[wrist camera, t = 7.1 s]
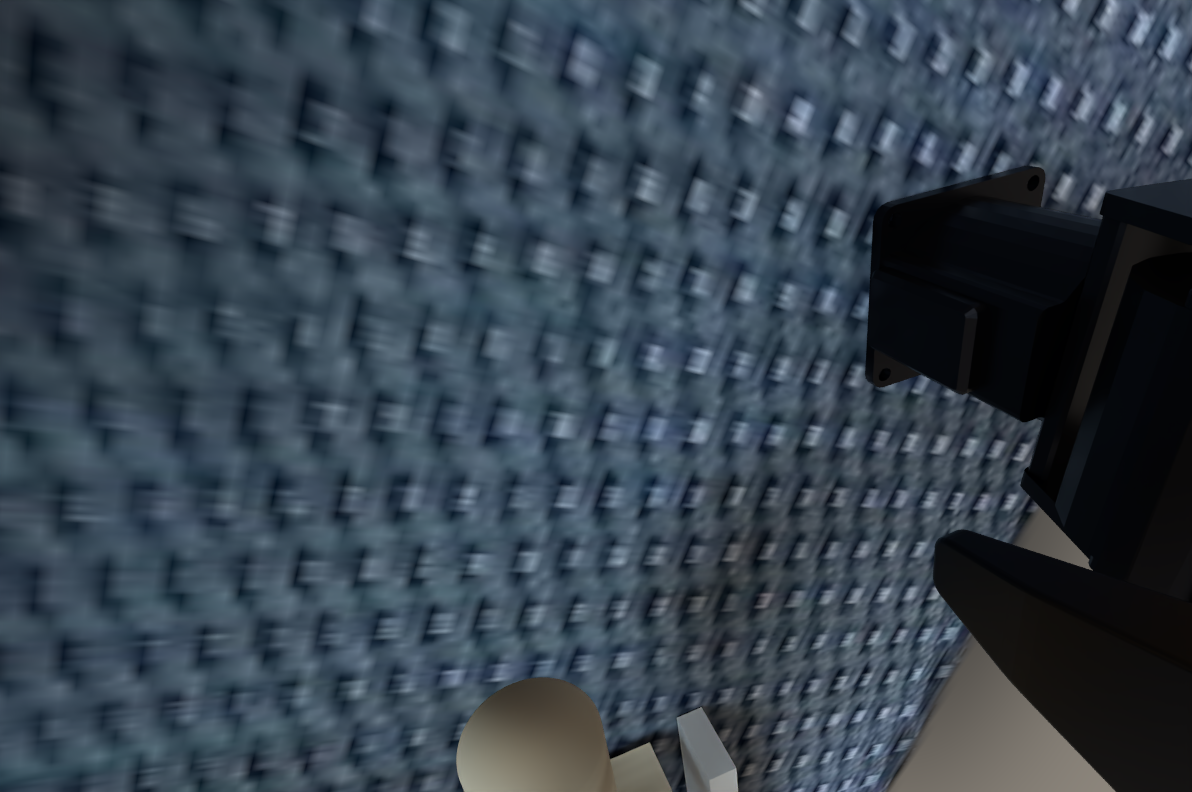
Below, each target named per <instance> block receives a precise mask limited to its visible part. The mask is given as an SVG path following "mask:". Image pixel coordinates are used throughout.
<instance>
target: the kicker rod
mask: <svg viewBox="0 0 1192 792" xmlns="http://www.w3.org/2000/svg"><path fill="white" fill-rule="evenodd" d="M456 763H457V772H458V776H459V780H460V782H461V784H462V787H463V789H464V792H673V791H672V789H671V787H670V785H669V783H668V781H667V778H666V776H665V774H664V772H663V770H662V768H661V766H660V763H659V761H658V759H657V757H656V755H655V753H654V751H653V748H652V746H651V744H650V742H649V743H647V744H644V745H642V746H640V747H638V748H635V749H633V750H631V751H628V752H626V753H624V754H622V755H619V756H617V757H615V758H612V759H610V757H609V752H608V748H607V744H606V739H605V735H604V730H603V726H602V722H601V718H600V715H599V712H598V710H597V708H596V706H595V704H594V703H593V701H592V700H591V699H590V698H589V696H588V695H587V694H586V693H585V692H583V691H582V690H581V689H580V688H578V687H576V686H575V685H573V684H571V683H568V682H566V681H563V680H559V679H555V678H531V679H526V680H522V681H519V682H516V683H513V684H511V685H508V686H506V687H504V688H502V689H501V690H499V691H497V692H496V693H494V694H493V695H492V696H490V697H489V698H488V699H487V700H486V701H484V702H483V703H482V704H481V705H480V706H479V707H478V709H477V710H476V711H475V712H474V713H473V715H472V716H471V718H470V719H469V721H468V722H467V724H466V726H465V728H464V730H463V732H462V735H461V737H460V741H459V744H458V750H457V762H456Z"/></svg>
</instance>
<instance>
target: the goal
mask: <svg viewBox="0 0 1192 792" xmlns="http://www.w3.org/2000/svg"><path fill="white" fill-rule="evenodd" d="M677 724H678V731H679V738H680V745H681V752H682V759H683V766H684V773H685V780H686V787H687V792H738V783H737V770H736V766H735V765H734V763H733V761H732V759H731V758H730V756H729V754H728V752H727V751H726V749H725V747H724V745H723V744H722V742H721V740H720V738H719V737H718V735H717V733H716V731H715V730H714V728H713V726H712V724H711V723H710V721H709V719H708V718H707V716H706V714H705V712H704V711H703V709H702V707H700V708H698V709H696V710H694V711H691V712H689V713H687V714H684V715H682V716H680V717H677Z"/></svg>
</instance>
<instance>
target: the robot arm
mask: <svg viewBox="0 0 1192 792" xmlns="http://www.w3.org/2000/svg"><path fill="white" fill-rule="evenodd" d="M1044 183H1045V172H1044V170H1043V169H1042V168H1040V167H1033V166H1023V167H1020V168H1016V169H1012V170H1008V171H1005V172H1001V173H997V174H993V175H989V176H986V177H982V178H978V179H974V180H971V181H967V182H963V183H959V184H955V185H952V186H948V187H944V188H940V189H937V190H933V191H929V192H925V193H921V194H918V195H914V196H910V197H906V198H903V199H899V200H895V201H891V202H887V203H885V204H883V205H882V206H881V207H880V208H879V209H878V210H877V212H876V214H875V216H874V220H873V235H872V255H871V274H870V293H869V312H868V332H867V351H866V370H865V375H866V379H867V381H868V382H870V383H871V384H873V385H875V386H877V387H885V386H888V385H891V384H894V383H897V382H900V381H903V380H906V379H909V378H912V377H915V376H918V375H921V374H922V375H924V376H926V377H927V378H929V379H931V380H933V381H935V382H937V383H939V384H941V385H943V386H944V387H946V388H948V389H950V390H952V391H954V392H956V393H958V394H961V395H963V394H966V393H967V394H969V395H971V396H973V397H975V398H977V399H979V400H981V401H983V402H985V403H986V404H988V405H990V406H992V407H994V408H996V409H998V410H1000V411H1002V412H1004V413H1006V414H1008V415H1009V416H1011V417H1013V418H1015V419H1017V420H1019V421H1021V422H1028V421H1031V420H1033V419H1036V418H1037V419H1039V420H1041V421H1043V422H1042V425H1041V428H1040V432H1039V435H1038V439H1037V442H1036V445H1035V449H1034V452H1033V455H1032V459H1031V462H1030V466H1029V467H1027V468H1026V469H1025V470H1024V474H1023V477H1022V481H1021V484H1020V486H1021V487H1022V488H1023V489H1024V490H1025V492H1026V493H1027V494H1028V495H1029V496H1030V497H1031V498H1032V499H1033V500H1034V501H1035V502H1036V503H1037V504H1038V505H1039V506H1040V508H1041V509H1042V510H1043V511H1044V512H1045V513H1046V514H1047V515H1048V516H1049V517H1050V518H1051V519H1052V520H1053V521H1054V522H1055V523H1056V525H1058V527H1059V528H1060V529H1061V530H1062V531H1063V532H1064V533H1065V534H1066V535H1067V536H1068V537H1069V538H1070V539H1071V541H1072V542H1073V543H1074V544H1075V545H1076V546H1077V547H1078V548H1079V549H1080V550H1081V551H1082V552H1083V553H1084V554H1085V555H1086V556H1087V557H1088V559H1089V566H1090V568H1091V569H1092V570H1093V571H1092V570H1089V569H1086V568H1083V567H1079V566H1077V565H1073V564H1070V563H1067V562H1064V561H1061V560H1058V559H1055V558H1052V557H1049V556H1046V555H1043V554H1040V553H1036V552H1033V551H1030V550H1027V549H1024V548H1021V547H1018V546H1015V545H1012V544H1009V543H1006V542H1003V541H1000V540H997V539H993V538H990V537H987V536H984V535H981V534H978V533H975V532H972V531H968V530H957V531H954V532H952V533H950V534H947V535H945V536H943V537H941V538H939V539H938V540H937V541H936V543H935V552H934V567H933V580H934V584H935V586H936V589H937V590H938V592H939V594H940V595H941V596H942V598H943V599H944V600H945V601H946V603H947V604H948V605H949V606H950V608H951V609H952V610H953V611H954V613H955V614H956V615H957V616H958V618H959V619H960V620H961V621H962V623H963V624H964V625H965V626H966V628H967V629H968V630H969V631H970V633H971V634H972V635H973V636H974V638H975V639H976V640H977V641H978V643H979V644H980V645H981V646H982V648H983V649H984V650H985V651H986V653H987V654H988V655H989V656H990V657H991V659H992V660H993V661H994V663H995V664H996V665H997V666H998V667H999V669H1000V670H1001V671H1002V672H1003V673H1004V675H1005V676H1006V677H1007V678H1008V679H1009V681H1010V682H1011V683H1012V684H1013V685H1014V686H1015V687H1016V688H1017V689H1018V690H1019V691H1020V693H1021V694H1023V696H1024V697H1025V698H1026V699H1027V700H1028V701H1029V702H1030V703H1031V704H1032V705H1033V706H1034V707H1035V708H1036V709H1037V710H1038V711H1039V712H1040V713H1041V714H1042V715H1043V716H1044V718H1045V719H1046V720H1048V722H1049V723H1050V724H1051V725H1052V726H1053V727H1054V728H1055V729H1056V730H1057V731H1058V732H1059V733H1060V734H1061V735H1062V736H1063V737H1064V738H1065V739H1066V740H1067V741H1068V742H1069V744H1070V745H1071V746H1072V747H1073V748H1074V749H1075V750H1076V751H1077V752H1078V753H1079V754H1080V755H1081V756H1082V757H1083V758H1084V759H1085V760H1086V761H1087V762H1088V763H1089V764H1090V765H1091V766H1092V767H1093V768H1094V770H1096V772H1097V773H1098V774H1099V775H1100V776H1101V777H1102V778H1103V779H1104V780H1105V781H1106V782H1107V783H1108V784H1109V785H1110V786H1111V787H1112V788H1113V789H1114V790H1115V791H1116V792H1192V179H1187V180H1180V181H1173V182H1166V183H1159V184H1152V185H1145V186H1138V187H1131V188H1124V189H1117V190H1110V191H1106V193H1105V197H1104V200H1103V204H1102V207H1101V211H1100V214H1101V215H1103V218H1102V220H1100V219H1095V218H1090V217H1085V216H1081V215H1076V214H1071V213H1066V212H1061V211H1056V210H1051V209H1046V208H1042V207H1041V201H1042V195H1043V189H1044ZM892 214H893V219H892V221H891V223H890V224H888V222H889V218H890V217H891V216H892ZM881 371H882V372H881ZM880 372H881V374H880ZM879 374H880V375H879Z"/></svg>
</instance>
